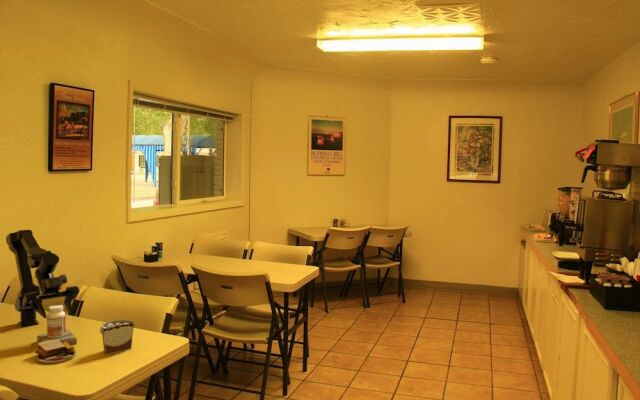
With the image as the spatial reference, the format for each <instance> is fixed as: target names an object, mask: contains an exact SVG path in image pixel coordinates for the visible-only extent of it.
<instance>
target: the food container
mask: <svg viewBox="0 0 640 400" xmlns="http://www.w3.org/2000/svg"><path fill="white" fill-rule="evenodd" d="M134 327H135V328H136V324H135V321H134V320H132V319H131V320H130V319H116V320H115V319H114V320H109V321H106V322H104V323H102V324H101V327H100V328H99V333H100V334H101V336H102V343H103V345H102V346H103V353H104V355H105V356H107V355H112V354H115V353H120V351H121V352H123V351H124V350H125V351H129V350H131V349H132V348H133V347H132V346H133V339H134V338H133V337H134ZM125 351H124V352H125ZM111 353H112V354H111Z"/></svg>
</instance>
